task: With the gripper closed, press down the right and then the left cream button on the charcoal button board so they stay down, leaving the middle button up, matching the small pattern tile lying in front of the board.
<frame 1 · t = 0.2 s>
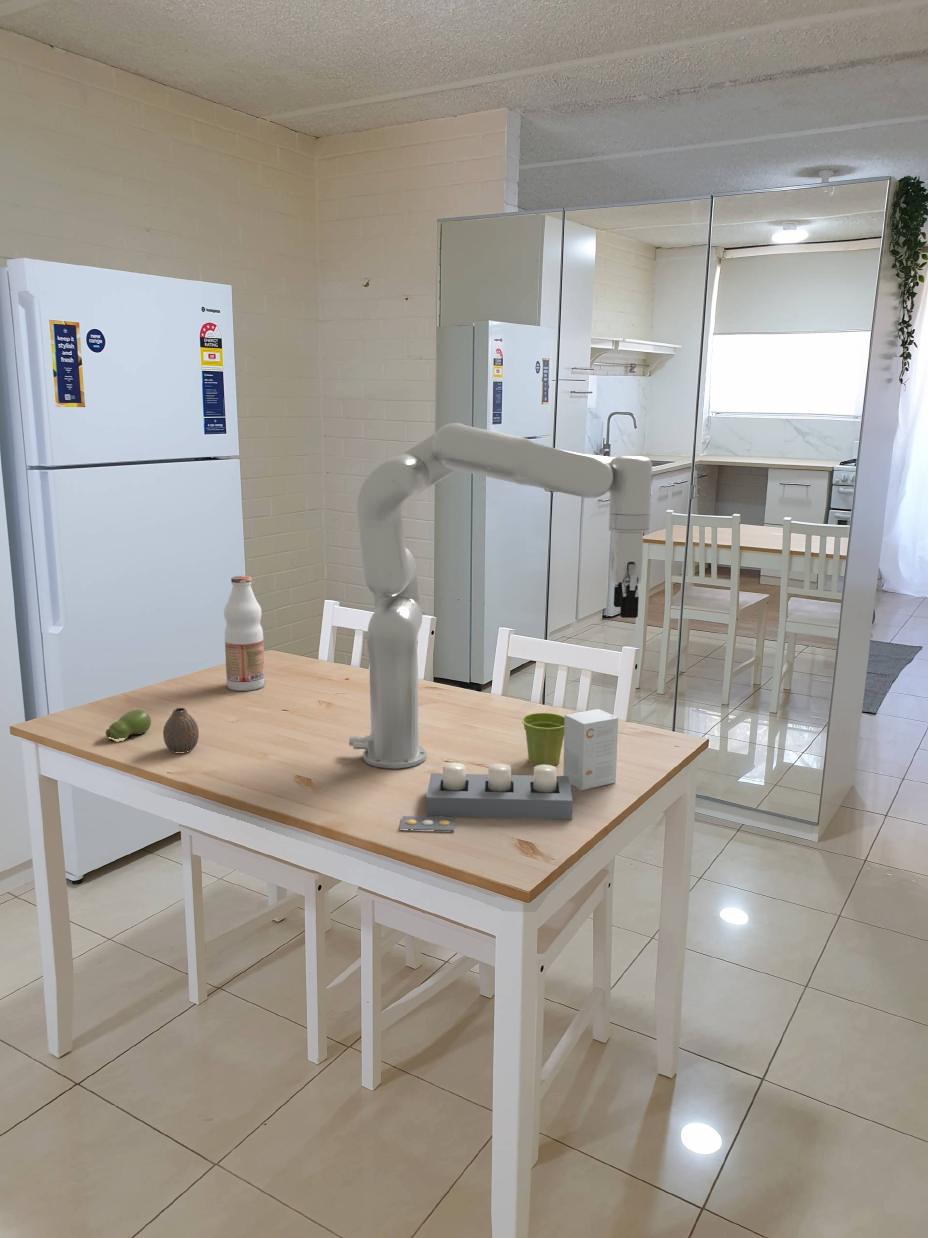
hand: (625, 611, 180), 31 cm above the table, tool pointing down, fingers open, 9 cm apart
button mid: (499, 777, 166), point 5 cm above the table, slide at 0.0 cm
button right: (545, 778, 166), point 5 cm above the table, slide at 0.0 cm
vase: (182, 751, 193), on the table
plant pot: (544, 762, 188), on the table
pattern tile: (427, 825, 159), on the table
button left: (454, 776, 166), point 5 cm above the table, slide at 0.0 cm
pear: (129, 737, 201), on the table
small box: (588, 782, 178), on the table
board: (499, 805, 167), on the table
fruit juice: (246, 687, 238), on the table
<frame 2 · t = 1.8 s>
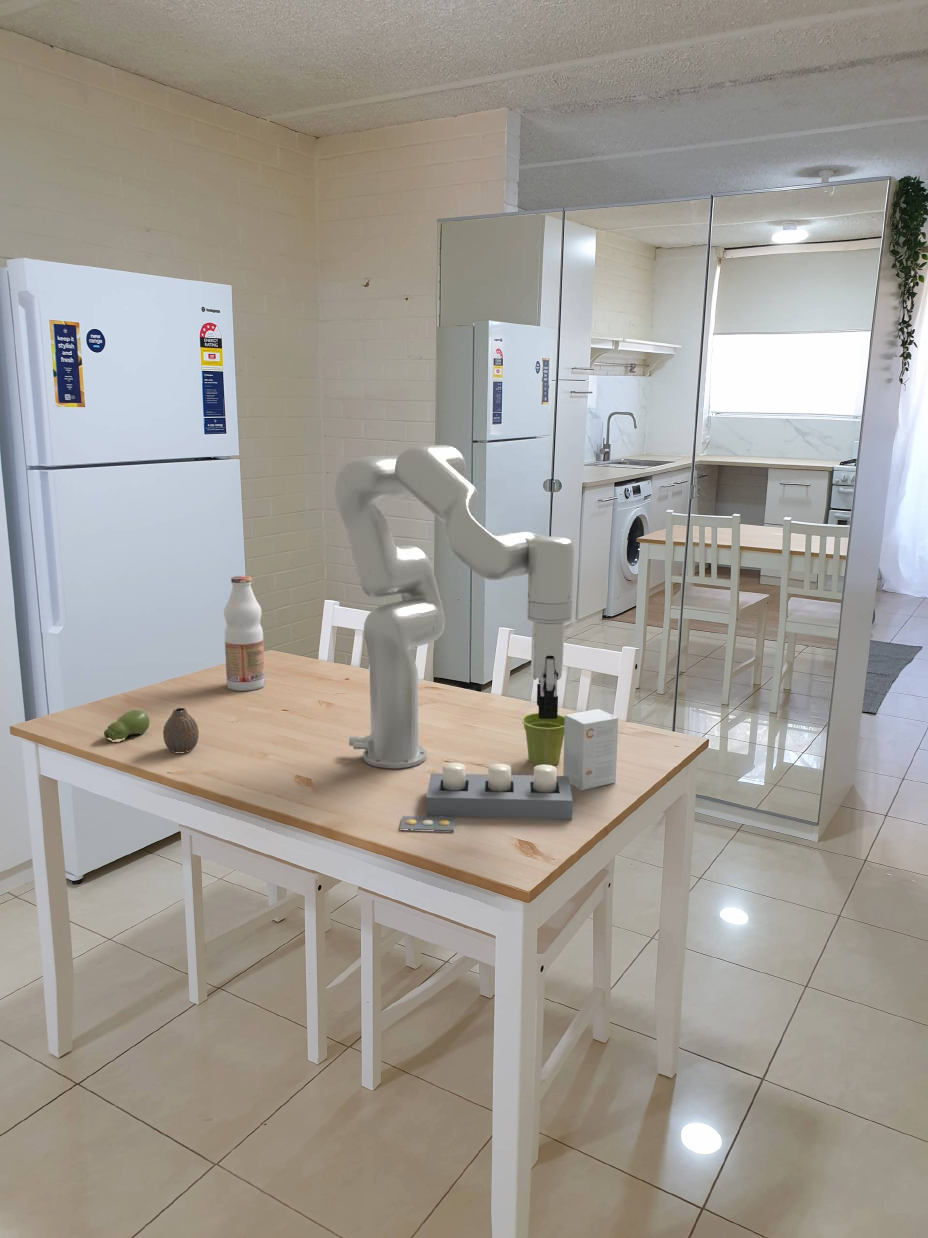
hand: (546, 711, 163), 18 cm above the table, tool pointing down, fingers open, 6 cm apart
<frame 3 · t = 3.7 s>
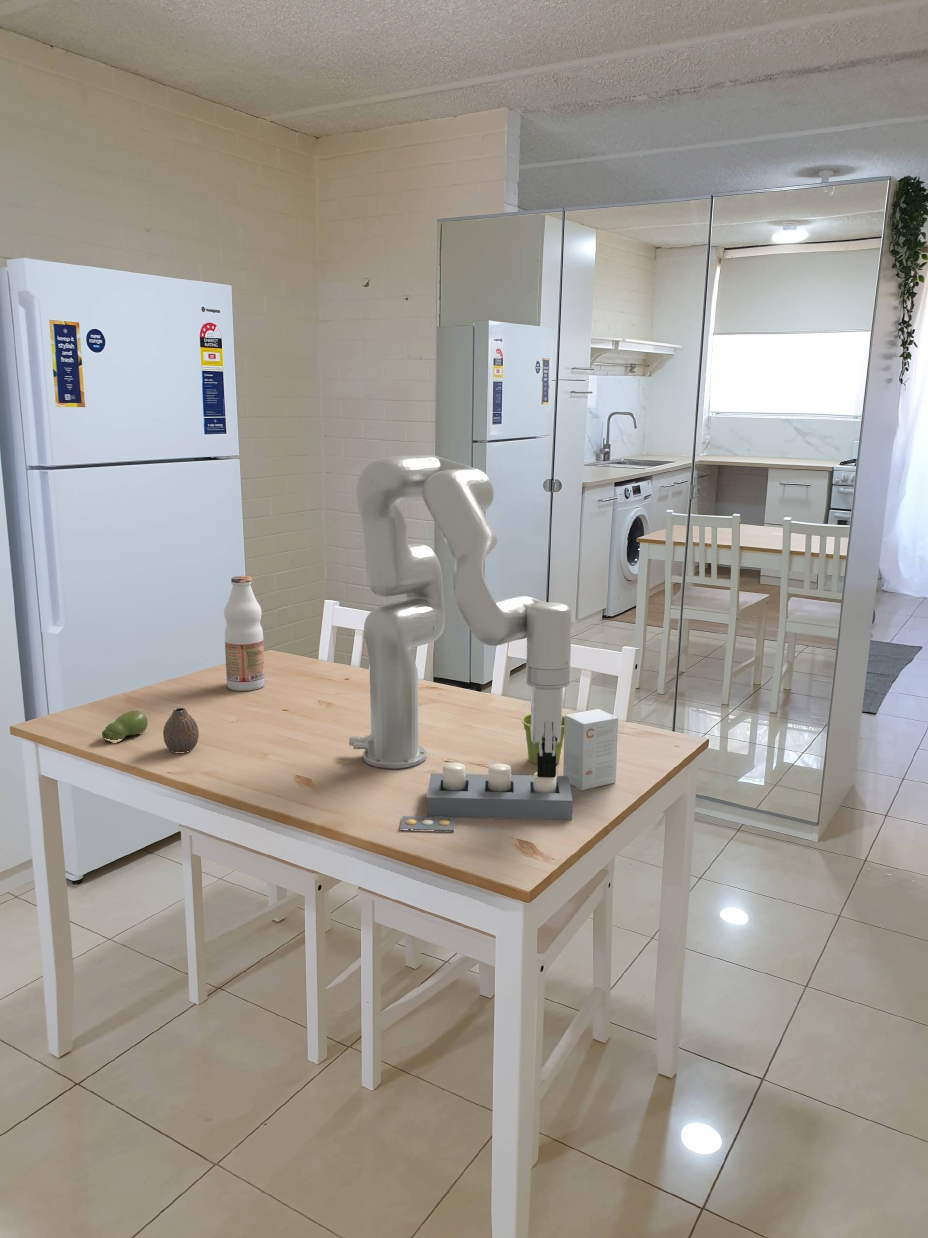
hand: (546, 775, 165), 6 cm above the table, tool pointing down, fingers closed
button right: (544, 785, 166), point 4 cm above the table, slide at 1.2 cm, touching gripper
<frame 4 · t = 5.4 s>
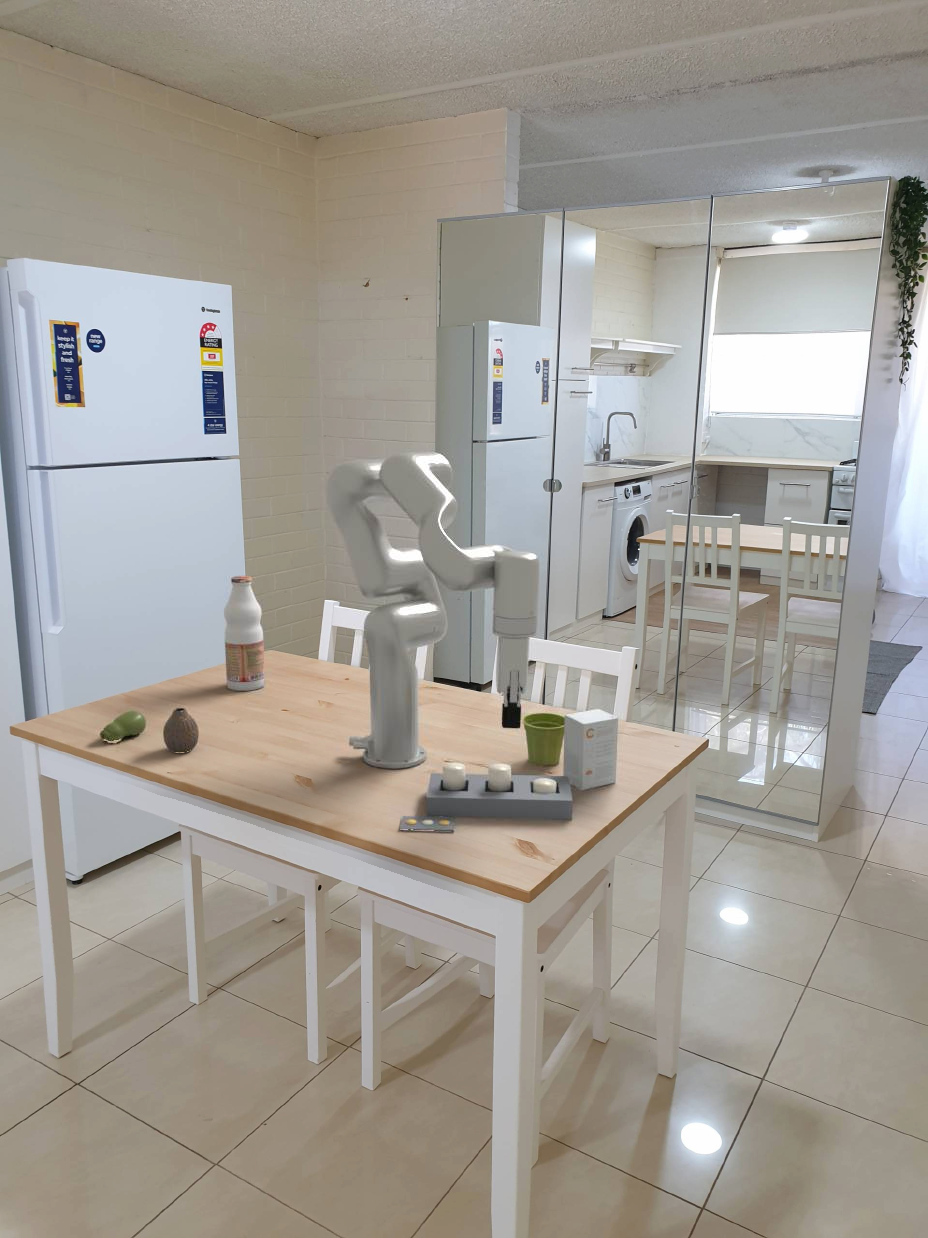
hand: (510, 726, 164), 15 cm above the table, tool pointing down, fingers closed
button right: (544, 792, 166), point 3 cm above the table, slide at 2.6 cm
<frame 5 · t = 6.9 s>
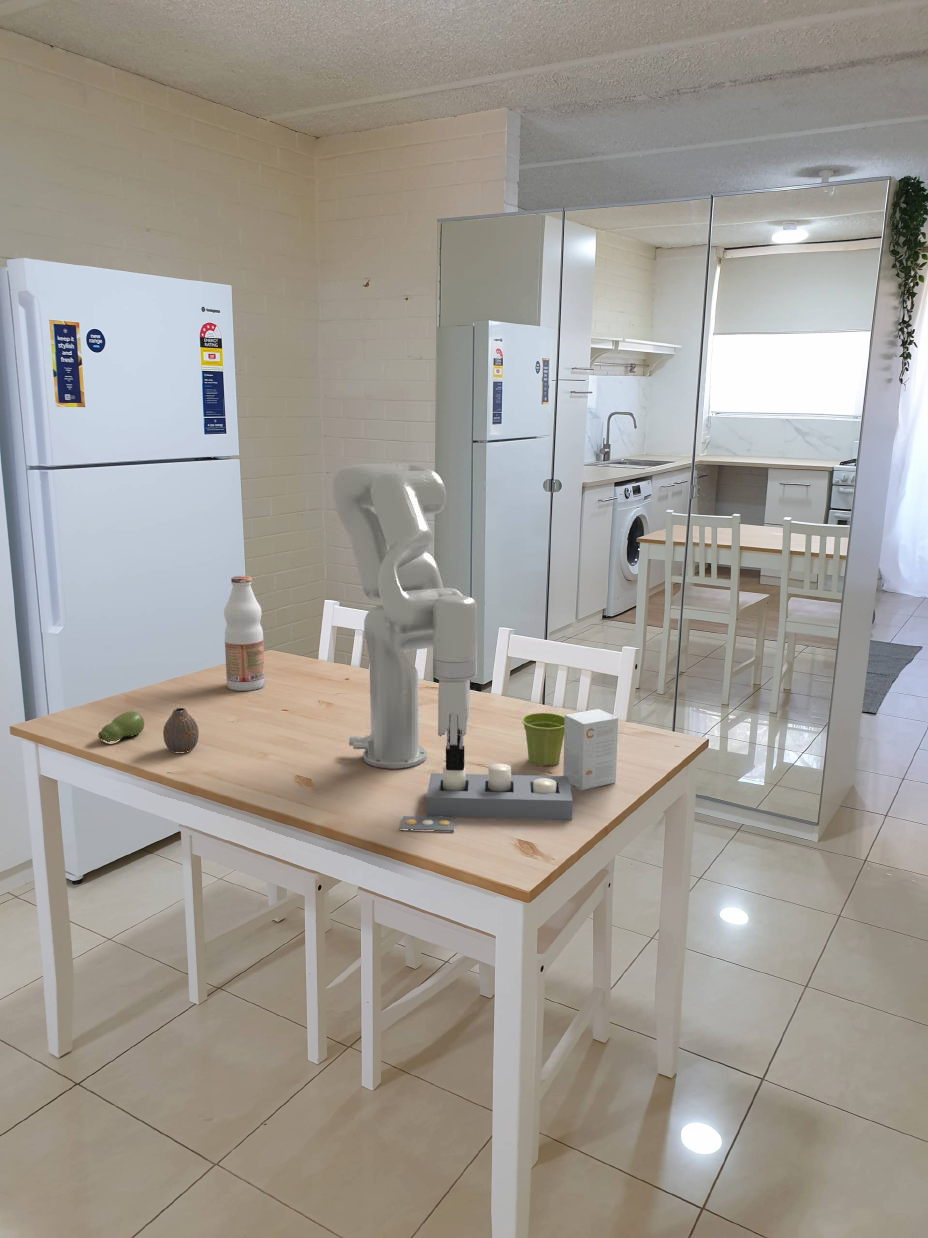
hand: (455, 768, 165), 7 cm above the table, tool pointing down, fingers closed
button left: (454, 777, 166), point 5 cm above the table, slide at 0.2 cm, touching gripper
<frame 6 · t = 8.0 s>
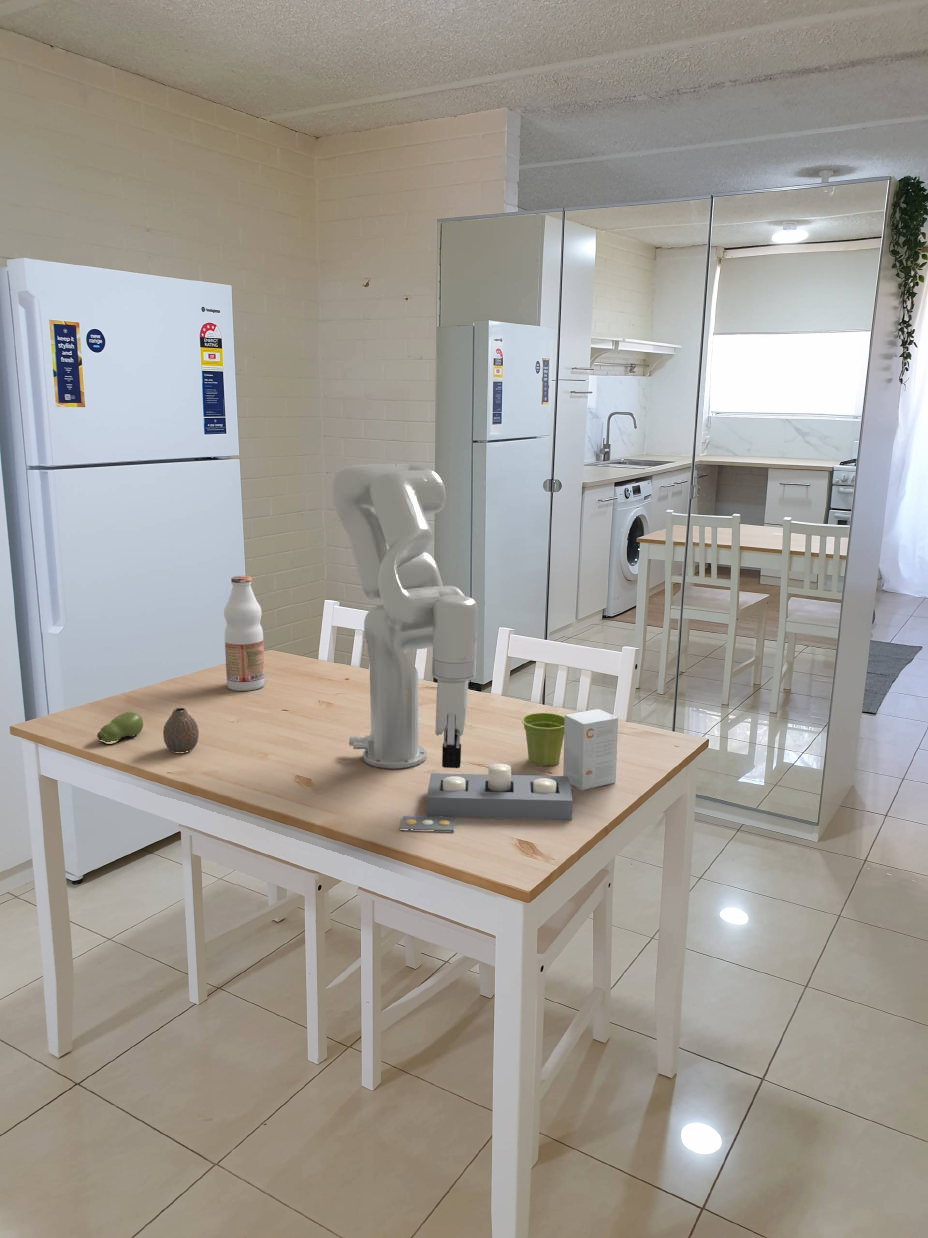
hand: (451, 765, 167), 7 cm above the table, tool pointing down, fingers closed
button left: (454, 790, 167), point 3 cm above the table, slide at 2.6 cm
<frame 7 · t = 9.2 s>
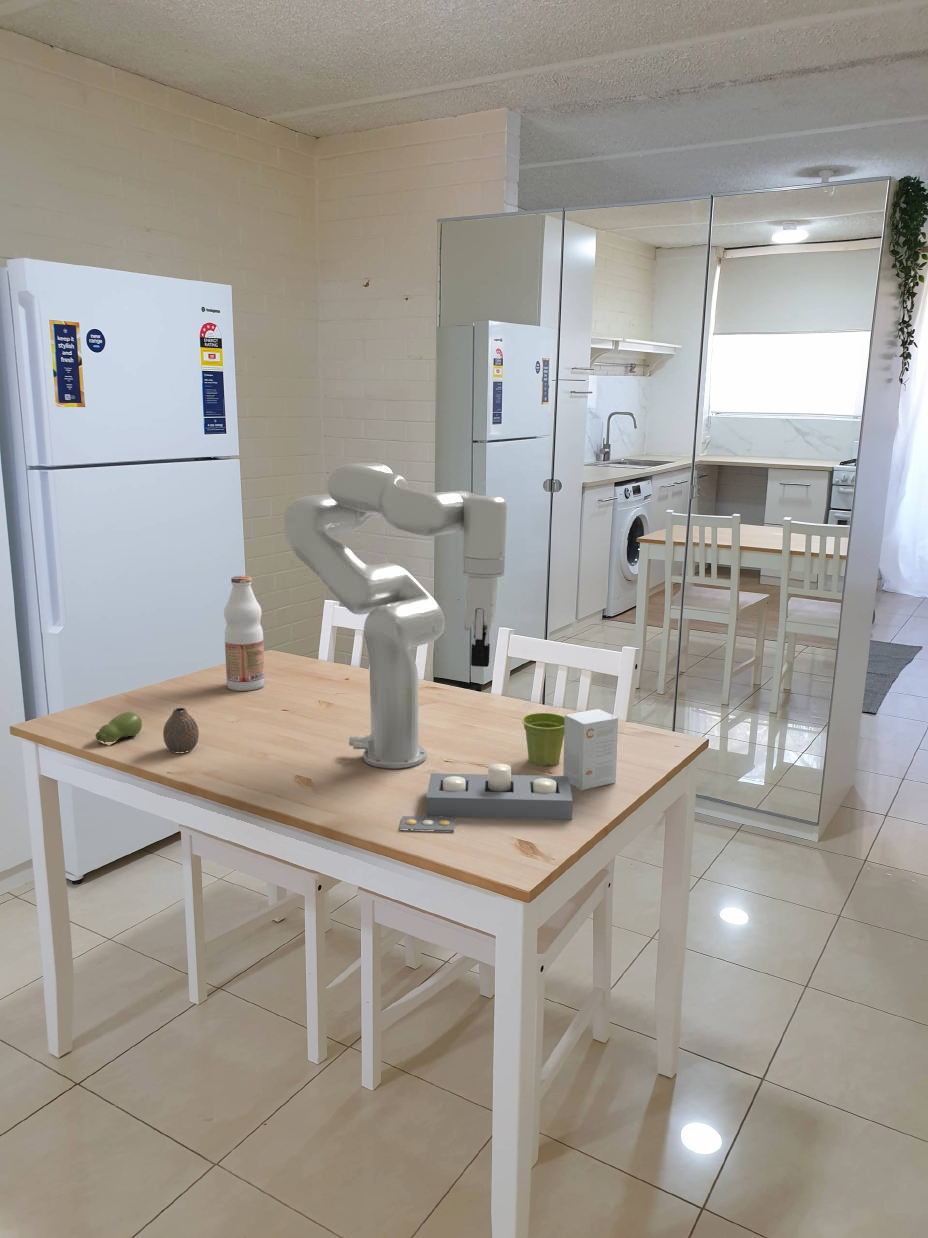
hand: (480, 665, 171), 23 cm above the table, tool pointing down, fingers closed
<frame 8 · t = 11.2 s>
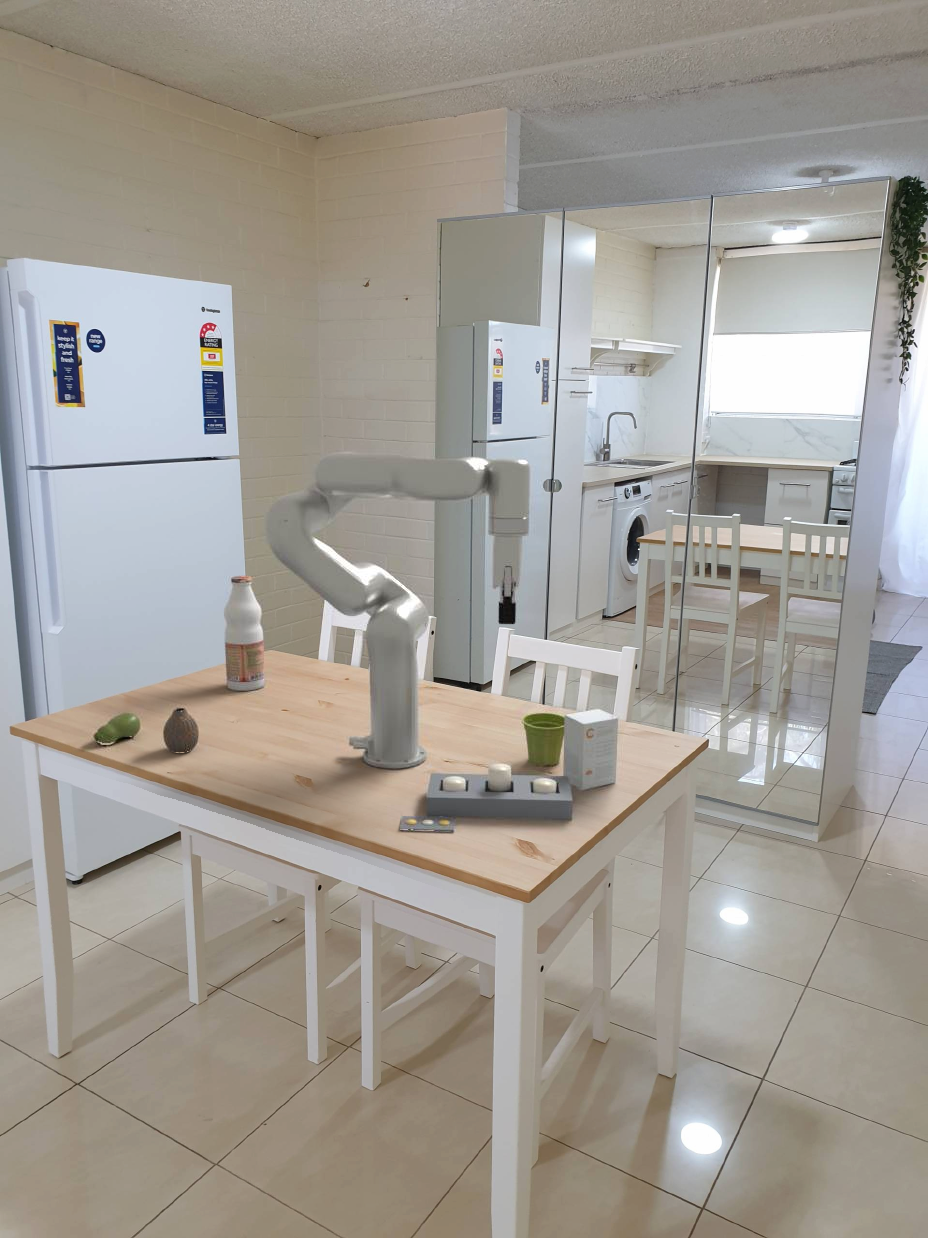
hand: (506, 622, 178), 29 cm above the table, tool pointing down, fingers closed
at the end: button right slide at 2.6 cm; button left slide at 2.6 cm; button mid slide at 0.0 cm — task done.
